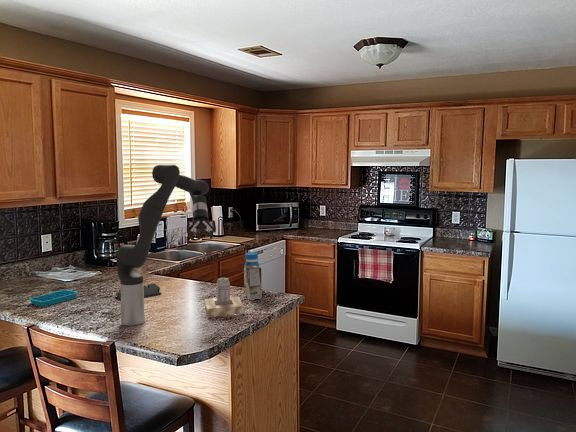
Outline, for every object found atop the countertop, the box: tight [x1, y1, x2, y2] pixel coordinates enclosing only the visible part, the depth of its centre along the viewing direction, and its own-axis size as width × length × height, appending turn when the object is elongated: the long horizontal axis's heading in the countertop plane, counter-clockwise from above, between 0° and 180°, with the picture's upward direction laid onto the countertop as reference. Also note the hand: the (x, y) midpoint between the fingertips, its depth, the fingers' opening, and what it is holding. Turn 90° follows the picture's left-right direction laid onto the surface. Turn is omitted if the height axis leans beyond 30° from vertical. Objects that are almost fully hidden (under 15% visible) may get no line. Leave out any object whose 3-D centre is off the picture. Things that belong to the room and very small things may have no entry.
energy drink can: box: [216, 277, 231, 305], centre depth 206 cm, size 6×6×15 cm
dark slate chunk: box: [115, 282, 163, 300], centre depth 234 cm, size 15×22×5 cm
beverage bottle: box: [243, 251, 260, 291], centre depth 243 cm, size 8×8×20 cm
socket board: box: [204, 296, 245, 318], centre depth 207 cm, size 16×16×4 cm
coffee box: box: [244, 265, 263, 301], centre depth 228 cm, size 9×6×16 cm
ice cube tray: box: [28, 289, 79, 307], centre depth 225 cm, size 12×20×3 cm, turn 152°
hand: (201, 238), depth 217 cm, fingers open, 8 cm apart
